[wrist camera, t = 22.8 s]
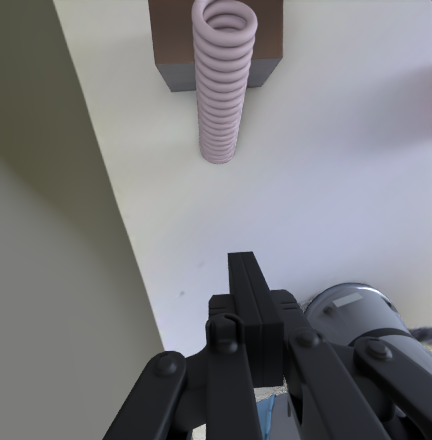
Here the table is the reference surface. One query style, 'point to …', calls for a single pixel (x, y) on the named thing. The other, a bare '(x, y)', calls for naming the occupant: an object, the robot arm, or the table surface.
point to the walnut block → (183, 28)
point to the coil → (221, 72)
